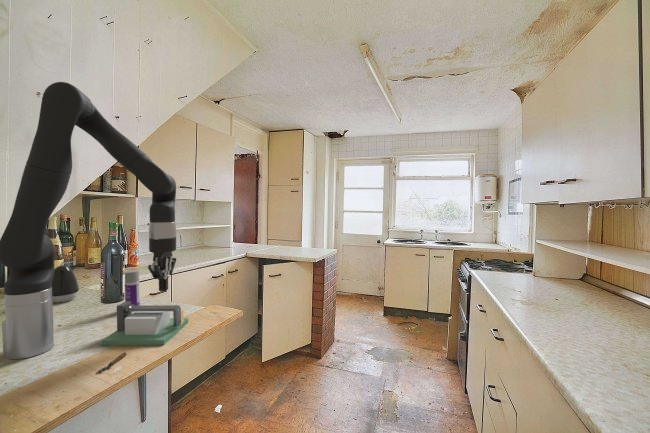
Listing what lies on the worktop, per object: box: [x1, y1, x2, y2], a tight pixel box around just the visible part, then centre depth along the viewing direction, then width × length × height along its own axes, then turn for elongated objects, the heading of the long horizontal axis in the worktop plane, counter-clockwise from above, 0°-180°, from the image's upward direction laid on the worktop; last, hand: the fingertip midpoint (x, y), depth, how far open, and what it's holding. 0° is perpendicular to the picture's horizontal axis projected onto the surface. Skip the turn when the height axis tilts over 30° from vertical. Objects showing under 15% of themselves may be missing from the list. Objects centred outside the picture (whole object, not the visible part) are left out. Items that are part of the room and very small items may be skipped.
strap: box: [124, 304, 182, 327], centre depth 93 cm, size 16×4×6 cm, turn 92°
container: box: [124, 269, 141, 306], centre depth 113 cm, size 5×5×15 cm
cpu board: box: [101, 301, 189, 346], centre depth 93 cm, size 18×16×10 cm
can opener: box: [95, 352, 127, 375], centre depth 75 cm, size 9×2×1 cm, turn 172°
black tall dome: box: [52, 264, 80, 303], centre depth 122 cm, size 10×10×15 cm
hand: (163, 290), depth 92 cm, fingers closed
